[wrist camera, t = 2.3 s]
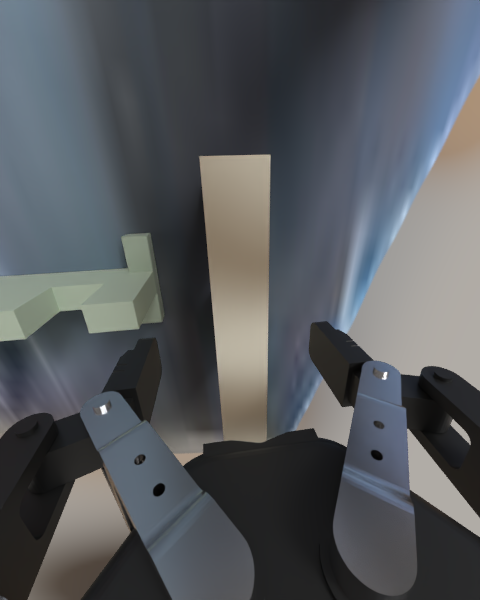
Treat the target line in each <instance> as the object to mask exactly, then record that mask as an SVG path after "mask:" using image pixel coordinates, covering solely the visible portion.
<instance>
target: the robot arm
mask: <svg viewBox="0 0 480 600" xmlns="http://www.w3.org/2000/svg"><path fill="white" fill-rule="evenodd" d="M309 354H310V357H311V360H312V361H313V363H314V364H315V366H316V367H317V369H318V370H319V372H320V374H321V375H322V377H323V378H324V380H325V381H326V383H327V384H328V386H329V387H330V389H331V390H332V392H333V394H334V395H335V397H336V398H337V400H338V401H339V403H340V404H341V406H342V407H347V406H353V408H354V413H353V418H352V424H351V429H350V435H349V439H348V445H347V447H345V446H343V445H341V444H339V443H337V442H334V441H331V440H328V439H323V438H318V437H317V435H316V432H315V430H314V429H313V428H312V429H305V430H299V431H291V432H286V433H284V434H282V435H279V436H277V437H275V438H272V439H270V440H267V441H265V442H262V443H256V442H246V441H236V440H229V441H222V442H215V443H208V444H203V454H202V455H200V456H198V457H196V458H194V459H192V460H191V461H189V462H188V463H186V464H185V465H184V466H182V465H181V463H180V462H179V461H178V460H177V458H176V457H175V456H174V454H173V453H172V452H171V451H170V449H169V448H168V447H167V445H166V444H165V443H164V442H163V440H162V439H161V438H160V436H159V435H158V434H157V433H156V431H155V430H154V429H153V428H152V426H151V425H150V420H151V416H152V412H153V407H154V403H155V399H156V395H157V391H158V387H159V383H160V379H161V374H162V366H161V360H160V355H159V350H158V345H157V341H156V338H147V339H139V340H138V342H137V345H136V347H135V349H134V350H128V351H127V352H126V353H125V354H124V355H122V356H121V357H120V359H119V361H118V363H117V366H116V367H115V369H114V370H113V373H112V374H111V376H110V378H109V380H108V382H107V384H106V386H105V388H104V389H103V391H102V393H101V394H98V395H96V396H94V397H92V398H91V399H89V400H88V401H87V402H86V403H85V404H84V405H83V407H82V408H81V411H80V413H77V414H75V415H72V416H69V417H66V418H63V419H60V420H57V421H54V419H53V417H52V415H51V414H48V413H38V414H34V415H31V416H29V417H26V418H24V419H22V420H20V421H19V422H17V423H16V424H14V425H13V426H12V427H10V428H9V429H8V430H7V431H6V432H5V434H4V435H3V436H2V437H1V439H0V600H27V599H28V597H29V594H30V592H31V589H32V587H33V584H34V582H35V579H36V577H37V574H38V572H39V569H40V567H41V564H42V562H43V559H44V557H45V554H46V552H47V549H48V547H49V544H50V542H51V539H52V537H53V534H54V532H55V529H56V527H57V524H58V522H59V519H60V517H61V514H62V512H63V509H64V506H65V504H66V502H67V499H68V497H69V494H70V492H71V489H72V487H73V484H74V482H75V479H77V478H79V477H82V476H84V475H86V474H88V473H91V472H93V471H95V470H97V469H100V468H101V469H102V472H103V474H104V476H105V478H106V480H107V482H108V484H109V486H110V489H111V491H112V493H113V495H114V497H115V500H116V501H117V504H118V506H119V508H120V511H121V513H122V515H123V518H124V520H125V522H126V525H127V527H128V529H129V531H130V534H129V536H128V537H127V538H126V540H125V541H124V542H123V544H122V545H121V546H120V548H119V549H118V550H117V552H116V553H115V554H114V556H113V557H112V558H111V560H110V561H109V562H108V564H107V565H106V567H105V568H104V569H103V570H102V572H101V573H100V574H99V576H98V577H97V578H96V580H95V581H94V583H93V584H92V585H91V587H90V588H89V589H88V591H87V592H86V593H85V595H84V596H83V597H82V599H81V600H480V537H479V536H477V535H476V534H474V533H473V532H471V531H470V530H468V529H467V528H465V527H464V526H462V525H461V524H459V523H458V522H456V521H455V520H454V519H452V518H451V517H449V516H448V515H446V514H445V513H443V512H442V511H440V510H439V509H437V508H436V507H434V506H433V505H431V504H430V503H429V502H427V501H426V500H424V499H423V498H421V497H420V496H418V495H417V494H415V493H414V492H412V491H411V490H410V487H409V467H408V466H409V465H408V443H407V429H409V430H410V431H411V432H412V434H413V435H414V436H415V437H416V439H417V440H418V441H419V442H420V444H421V445H422V446H423V447H424V449H426V451H427V452H428V454H429V455H430V456H431V457H432V459H433V460H434V461H435V462H436V464H437V465H438V466H439V467H440V468H441V470H442V471H443V472H444V474H445V475H446V476H447V477H448V479H449V480H450V481H451V482H452V483H453V485H454V486H455V487H456V488H457V490H458V491H459V492H460V494H461V495H462V496H463V497H464V499H465V500H466V501H467V502H468V504H469V505H470V506H471V507H472V508H473V510H474V511H475V512H476V514H477V515H478V516H479V517H480V391H479V390H477V389H476V388H475V387H473V386H472V385H471V384H469V383H468V382H467V381H465V380H464V379H463V378H461V377H460V376H459V375H457V374H456V373H454V372H452V371H450V370H447V369H444V368H441V367H435V366H428V367H424V368H423V369H422V371H421V374H420V376H412V375H402V374H400V372H399V371H398V370H397V369H395V367H393V366H391V365H389V364H387V363H384V362H381V361H374V360H373V359H372V358H371V357H369V356H368V355H367V354H366V353H365V352H364V351H363V350H362V349H361V348H360V347H359V346H357V344H356V343H355V342H354V341H353V340H352V339H351V338H350V337H349V336H348V335H347V334H345V333H344V332H342V331H340V330H335V329H334V328H333V327H332V326H331V325H330V324H329V323H328V322H327V321H325V322H315V323H312V324H311V329H310V341H309ZM452 419H454V420H455V421H456V422H457V423H458V424H459V425H460V426H461V427H462V428H463V429H464V430H465V431H466V433H467V434H468V436H469V438H470V441H471V445H469V443H468V442H467V441H465V439H463V438H462V436H461V435H460V434H459V433H458V432H457V431H456V430H455V429H453V427H452V426H451V425H450V424H451V422H452Z"/></svg>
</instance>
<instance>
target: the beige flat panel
mask: <svg viewBox="0 0 480 600" xmlns="http://www.w3.org/2000/svg"><path fill="white" fill-rule="evenodd" d="M199 158H200V170H201V181H202V193H203V204H204V216H205V227H206V239H207V251H208V262H209V274H210V285H211V297H212V308H213V320H214V331H215V343H216V355H217V366H218V378H219V389H220V401H221V412H222V424H223V436H224V441H229V440H236V441H246V442H256V443H262V442H265V441H266V438H267V366H268V295H269V224H270V155H231V156H199Z"/></svg>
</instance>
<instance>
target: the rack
mask: <svg viewBox="0 0 480 600" xmlns="http://www.w3.org/2000/svg"><path fill="white" fill-rule="evenodd" d="M121 239H122V243H123V248H124V252H125V257H126V261H127V266H128V268H123V269H108V270H93V271H77V272H62V273H46V274H31V275H16V276H0V341H10V340H21V339H27V338H28V337H29V336H30V335H32V334H33V333H34V332H35V331H36V330H38V329H39V328H40V327H41V326H43V325H44V324H45V323H46V322H47V321H49V320H50V319H51V318H52V317H54V316H55V315H56V314H57V313H59V312H60V311H70V310H82V312H83V315H84V318H85V321H86V324H87V327H88V330H89V333H99V332H111V331H122V330H133V329H139V328H140V326H141V324H145V323H156V322H162V321H163V318H164V315H165V314H164V308H163V302H162V297H161V291H160V285H159V279H158V274H157V268H156V262H155V257H154V251H153V245H152V239H151V234H150V233H140V234H126V235H124V236H122V237H121Z"/></svg>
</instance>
